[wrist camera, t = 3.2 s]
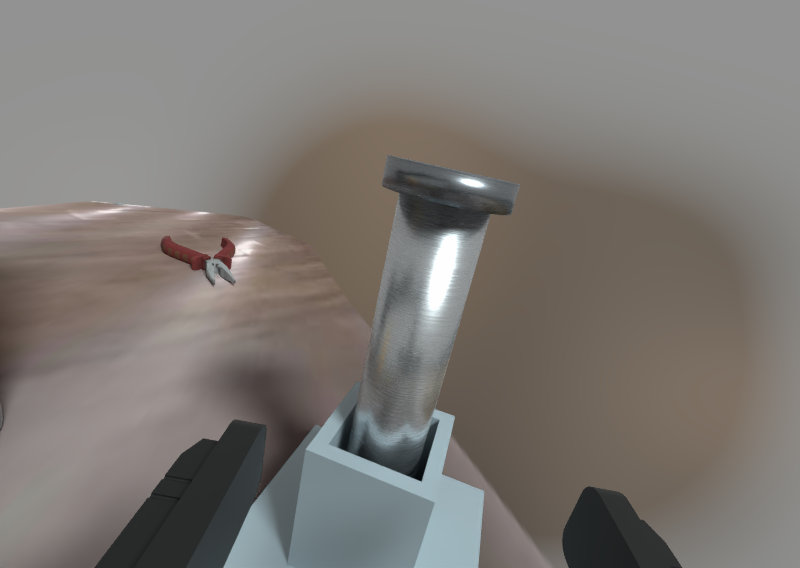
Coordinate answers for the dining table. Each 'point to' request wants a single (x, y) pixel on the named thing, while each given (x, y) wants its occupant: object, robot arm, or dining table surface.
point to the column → (420, 304)
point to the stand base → (361, 508)
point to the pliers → (203, 258)
